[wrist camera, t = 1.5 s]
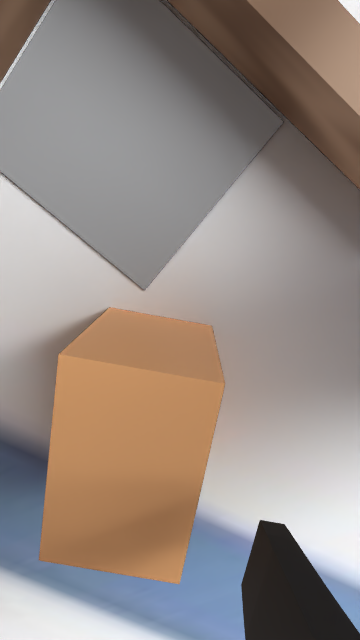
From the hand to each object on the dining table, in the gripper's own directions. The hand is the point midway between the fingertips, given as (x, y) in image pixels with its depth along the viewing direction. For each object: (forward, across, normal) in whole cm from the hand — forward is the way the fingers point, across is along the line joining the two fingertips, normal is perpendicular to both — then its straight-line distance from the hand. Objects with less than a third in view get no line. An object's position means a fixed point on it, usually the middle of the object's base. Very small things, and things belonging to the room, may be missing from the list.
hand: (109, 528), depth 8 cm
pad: (+8, +2, -10) cm, 13 cm away
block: (+8, 0, 0) cm, 8 cm away
